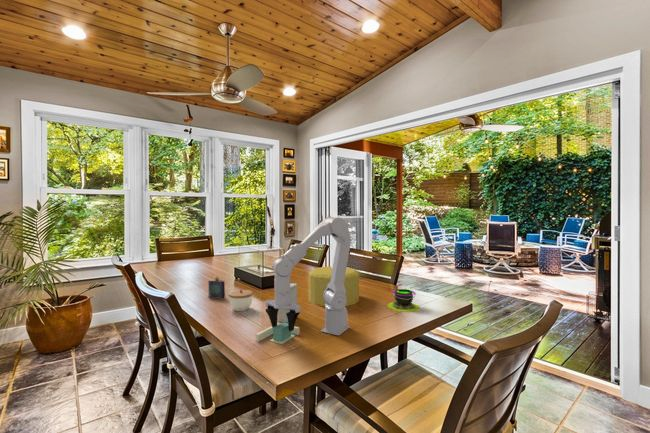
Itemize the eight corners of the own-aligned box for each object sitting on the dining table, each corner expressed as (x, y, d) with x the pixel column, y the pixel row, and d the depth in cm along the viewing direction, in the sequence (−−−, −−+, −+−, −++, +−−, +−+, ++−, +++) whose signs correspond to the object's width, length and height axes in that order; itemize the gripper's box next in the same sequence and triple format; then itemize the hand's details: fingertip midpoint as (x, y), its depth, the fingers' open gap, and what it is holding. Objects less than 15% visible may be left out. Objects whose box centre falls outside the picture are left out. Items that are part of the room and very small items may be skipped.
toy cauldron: (394, 312, 146) (394, 288, 146) (383, 302, 161) (383, 281, 161) (425, 311, 149) (425, 287, 148) (411, 301, 164) (412, 280, 163)
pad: (283, 333, 123) (283, 332, 123) (295, 336, 120) (295, 335, 120) (269, 340, 116) (269, 340, 116) (282, 344, 113) (281, 343, 113)
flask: (207, 297, 170) (207, 277, 170) (210, 295, 173) (210, 276, 173) (223, 298, 168) (223, 278, 168) (226, 297, 171) (226, 277, 170)
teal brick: (283, 334, 121) (283, 322, 121) (291, 335, 120) (291, 323, 119) (273, 339, 116) (273, 327, 116) (281, 341, 114) (281, 329, 114)
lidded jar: (257, 307, 153) (257, 288, 153) (241, 314, 144) (241, 293, 143) (240, 304, 158) (240, 285, 158) (224, 310, 149) (223, 290, 149)
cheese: (343, 290, 185) (343, 264, 184) (368, 302, 161) (369, 273, 161) (301, 295, 174) (301, 268, 173) (321, 310, 150) (321, 278, 150)
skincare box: (290, 323, 133) (290, 287, 132) (277, 322, 135) (277, 286, 134) (298, 316, 141) (298, 283, 140) (285, 315, 143) (285, 282, 142)
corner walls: (277, 328, 127) (277, 322, 127) (299, 333, 122) (299, 327, 122) (255, 340, 116) (255, 333, 116) (278, 347, 111) (278, 339, 111)
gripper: (259, 291, 118) (260, 328, 118) (292, 297, 110) (292, 336, 111) (272, 287, 124) (272, 322, 124) (303, 292, 116) (304, 329, 117)
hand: (282, 328), depth 118 cm, fingers open, 7 cm apart
